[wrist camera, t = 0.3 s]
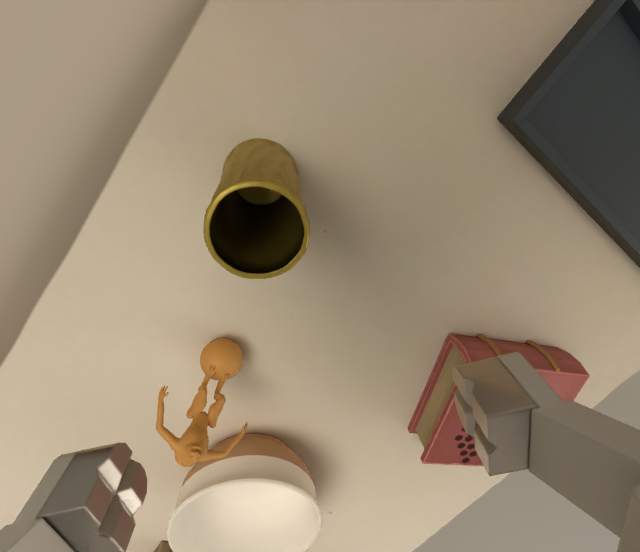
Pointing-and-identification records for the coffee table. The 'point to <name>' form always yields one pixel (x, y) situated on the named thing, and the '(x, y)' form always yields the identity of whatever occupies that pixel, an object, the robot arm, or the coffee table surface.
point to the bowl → (247, 501)
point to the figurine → (217, 364)
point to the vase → (257, 212)
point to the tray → (590, 117)
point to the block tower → (163, 547)
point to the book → (438, 397)
